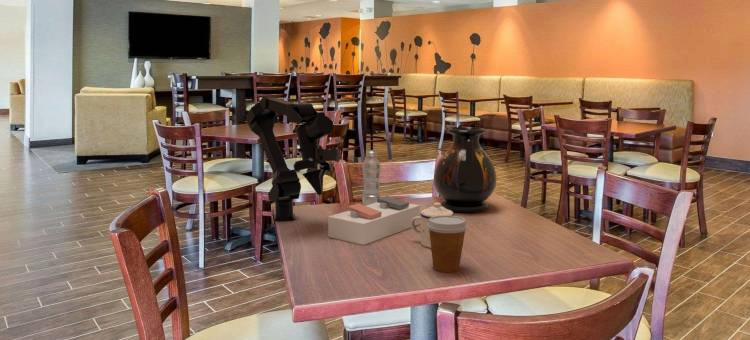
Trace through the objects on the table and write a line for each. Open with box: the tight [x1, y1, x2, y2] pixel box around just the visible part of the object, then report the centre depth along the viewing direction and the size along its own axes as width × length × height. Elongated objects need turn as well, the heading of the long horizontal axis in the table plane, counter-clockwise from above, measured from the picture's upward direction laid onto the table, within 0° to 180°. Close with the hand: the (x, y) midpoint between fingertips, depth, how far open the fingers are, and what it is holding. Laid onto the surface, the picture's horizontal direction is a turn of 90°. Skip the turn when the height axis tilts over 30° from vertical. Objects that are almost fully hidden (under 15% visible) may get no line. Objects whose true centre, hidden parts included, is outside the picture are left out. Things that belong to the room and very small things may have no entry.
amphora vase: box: [433, 126, 497, 214], centre depth 197 cm, size 22×22×28 cm
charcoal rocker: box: [377, 195, 410, 209], centre depth 174 cm, size 8×5×1 cm, turn 53°
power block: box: [327, 202, 421, 246], centre depth 170 cm, size 13×28×8 cm, turn 143°
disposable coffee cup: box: [427, 215, 468, 273], centre depth 136 cm, size 10×10×12 cm
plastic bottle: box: [361, 149, 382, 206], centre depth 198 cm, size 6×7×20 cm
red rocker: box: [347, 203, 382, 220], centre depth 163 cm, size 8×5×1 cm, turn 53°
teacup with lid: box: [411, 201, 455, 249], centre depth 156 cm, size 12×9×12 cm
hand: (320, 194), depth 167 cm, fingers closed
